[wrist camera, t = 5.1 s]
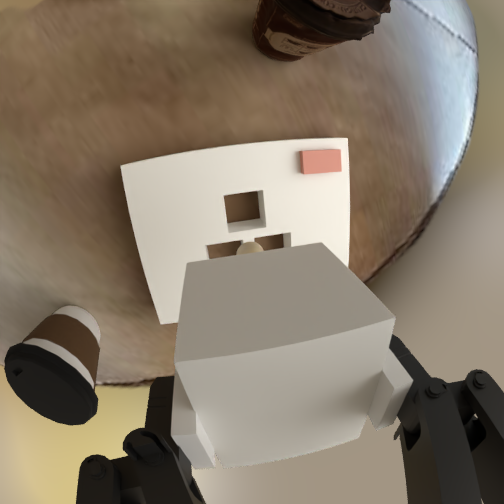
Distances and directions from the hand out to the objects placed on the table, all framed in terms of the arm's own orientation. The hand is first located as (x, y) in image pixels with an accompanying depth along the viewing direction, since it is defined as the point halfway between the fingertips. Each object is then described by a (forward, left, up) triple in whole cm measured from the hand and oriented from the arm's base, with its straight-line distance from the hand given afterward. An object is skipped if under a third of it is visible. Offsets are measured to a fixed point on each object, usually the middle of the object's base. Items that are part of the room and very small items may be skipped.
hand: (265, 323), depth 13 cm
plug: (0, 0, -3) cm, 3 cm away
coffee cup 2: (+7, +19, -16) cm, 26 cm away
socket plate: (+1, 0, -16) cm, 16 cm away
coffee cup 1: (-21, -9, -16) cm, 28 cm away
